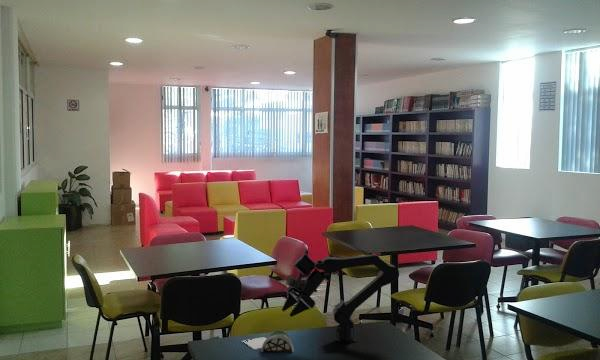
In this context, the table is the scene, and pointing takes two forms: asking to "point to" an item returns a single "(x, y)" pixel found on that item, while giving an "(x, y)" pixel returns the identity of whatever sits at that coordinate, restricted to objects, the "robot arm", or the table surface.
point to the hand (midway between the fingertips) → (286, 313)
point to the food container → (278, 343)
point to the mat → (255, 343)
